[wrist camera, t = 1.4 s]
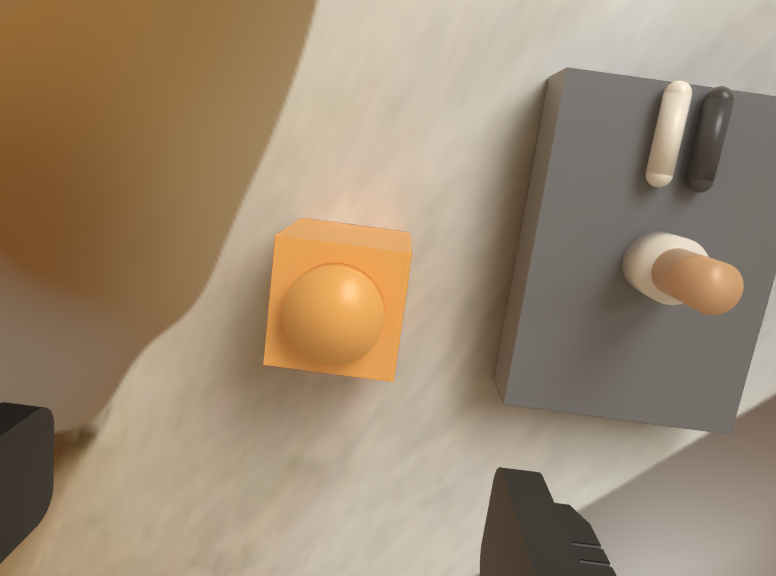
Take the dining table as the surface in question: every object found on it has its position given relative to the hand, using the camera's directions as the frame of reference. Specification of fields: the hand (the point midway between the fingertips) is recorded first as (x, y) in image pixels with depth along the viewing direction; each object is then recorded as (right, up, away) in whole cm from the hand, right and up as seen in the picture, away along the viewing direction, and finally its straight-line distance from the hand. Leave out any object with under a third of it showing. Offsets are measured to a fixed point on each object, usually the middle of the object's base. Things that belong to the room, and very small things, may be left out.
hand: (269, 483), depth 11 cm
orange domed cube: (0, +4, +17) cm, 18 cm away
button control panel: (+13, +5, +17) cm, 22 cm away
